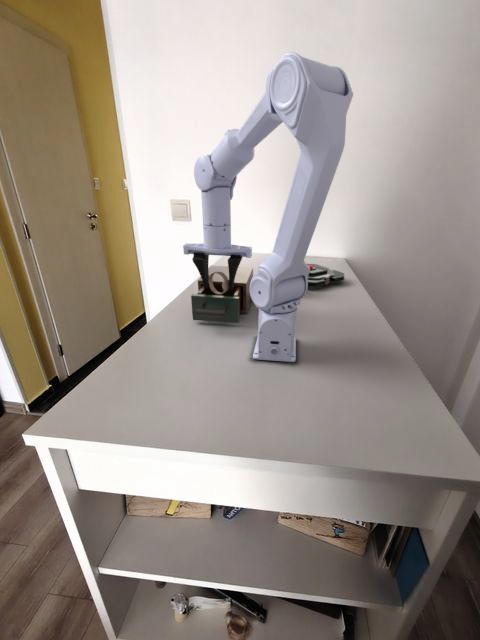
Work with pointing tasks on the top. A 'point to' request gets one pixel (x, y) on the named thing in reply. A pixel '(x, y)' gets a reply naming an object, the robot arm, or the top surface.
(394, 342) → the top surface
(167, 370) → the top surface
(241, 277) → the cabinet
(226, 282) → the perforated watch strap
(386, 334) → the top surface
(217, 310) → the drawer
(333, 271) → the four-lobed dark green device
